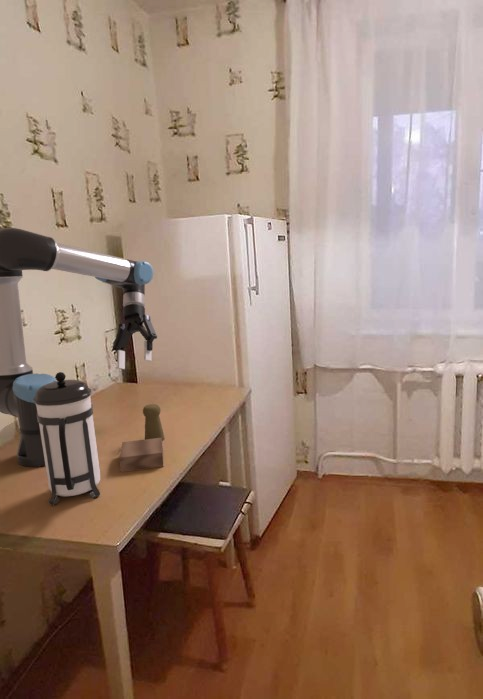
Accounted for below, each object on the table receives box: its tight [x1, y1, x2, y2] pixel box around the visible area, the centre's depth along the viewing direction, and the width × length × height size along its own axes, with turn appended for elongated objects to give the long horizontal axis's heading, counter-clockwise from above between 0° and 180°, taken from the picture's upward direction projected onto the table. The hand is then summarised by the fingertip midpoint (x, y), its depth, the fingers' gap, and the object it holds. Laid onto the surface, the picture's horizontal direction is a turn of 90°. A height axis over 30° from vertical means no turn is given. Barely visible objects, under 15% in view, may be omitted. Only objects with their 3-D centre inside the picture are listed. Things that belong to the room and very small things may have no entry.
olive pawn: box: [142, 403, 166, 442], centre depth 152 cm, size 6×6×11 cm
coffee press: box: [34, 371, 101, 506], centre depth 118 cm, size 17×16×30 cm
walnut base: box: [118, 438, 164, 473], centre depth 138 cm, size 11×11×4 cm
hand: (134, 364), depth 173 cm, fingers open, 13 cm apart
